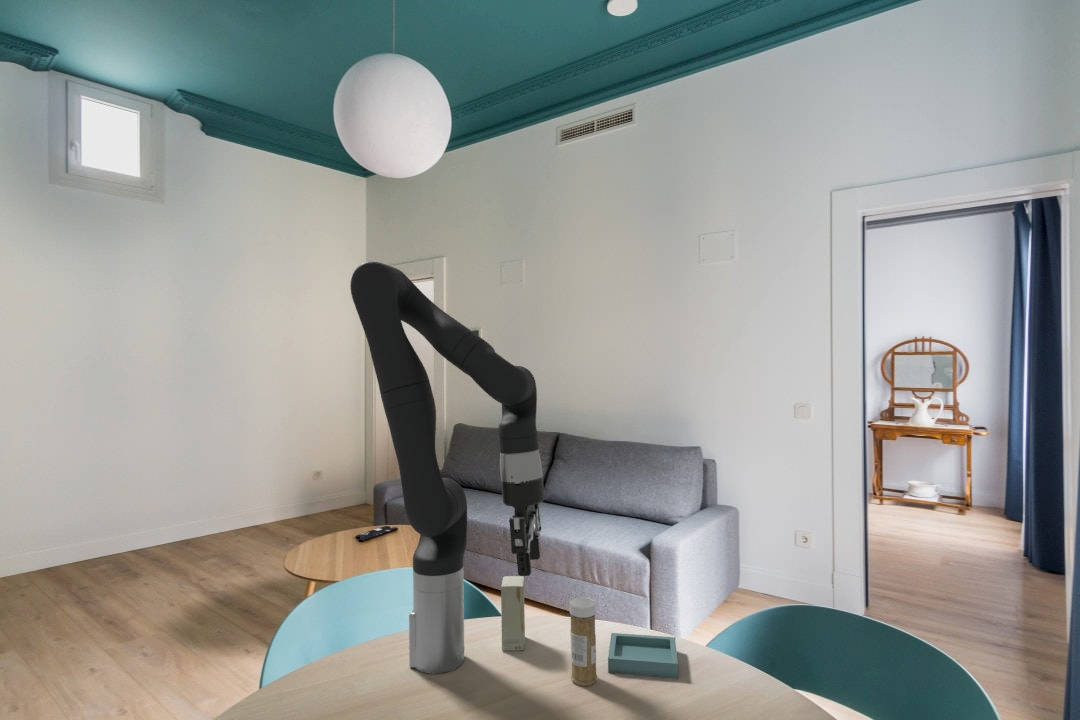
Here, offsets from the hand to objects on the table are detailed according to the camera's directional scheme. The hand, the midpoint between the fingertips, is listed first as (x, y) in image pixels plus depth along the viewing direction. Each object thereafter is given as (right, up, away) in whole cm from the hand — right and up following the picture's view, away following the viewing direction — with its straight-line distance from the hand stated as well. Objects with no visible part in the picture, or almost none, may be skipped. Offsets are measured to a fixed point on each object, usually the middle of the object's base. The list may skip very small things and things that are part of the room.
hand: (529, 566), depth 103 cm
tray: (+21, -18, +2) cm, 28 cm away
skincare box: (-3, -19, +10) cm, 22 cm away
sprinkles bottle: (+9, -18, -4) cm, 21 cm away
